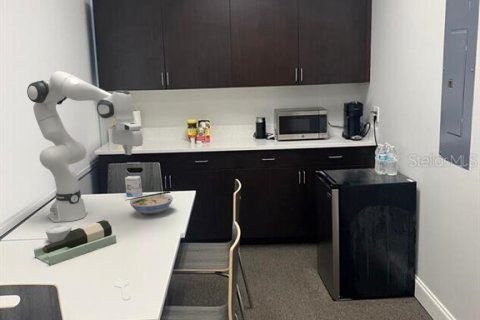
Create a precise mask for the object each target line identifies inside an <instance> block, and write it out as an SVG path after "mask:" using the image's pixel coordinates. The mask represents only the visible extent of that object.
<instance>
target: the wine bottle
mask: <svg viewBox="0 0 480 320" xmlns="http://www.w3.org/2000/svg"><path fill="white" fill-rule="evenodd" d="M111 235H113V228H112V225H111V224H110V222H109V220H106V219H105V220H104V219H103V220H100V221H96V222H93V223H91V224H87V225H84V226H81V227H78V228H75V229H71V231H70V232H69V233H68V234H67V236H66V237H65V238H64V239H63V240H60V241H57V242H54V243H52V242H50V243H48V244H45V245H43V246H44V247H43V246H42V247H43V252H44V253H47V254H48V253H50V252H53V251H56V250H59V249H62V248H65V247H68V248H74V247H77V246H80V245H83V244H86V243H89V242H92V241H95V240H98V239H101V238H104V237H107V236H111Z"/></svg>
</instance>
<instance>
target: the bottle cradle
mask: <svg viewBox="0 0 480 320" xmlns="http://www.w3.org/2000/svg"><path fill="white" fill-rule="evenodd" d="M113 244H117V235H116V234H112V235H111V236H107V237H104V238H101V239H98V240H95V241H92V242H89V243H86V244H83V245H80V246H77V247H74V248H68V247H65V248H62V249H59V250H56V251H53V252H50V253H48V254H47V253H44V252H43V247H44V246H45V245H43V246H40V247H37V248H34V249H33V252H34V258H36V259H37V260H40V261H41V262H44V263H45V264H47V265H49V266H53V265H56V264H59V263H62V262H64V261H68V260H70V259H74V258H76V257H80V256H83V255H86V254H87V253H91V252H93V251H96V250H100V249H102V248H106V247H108V246H111V245H113Z"/></svg>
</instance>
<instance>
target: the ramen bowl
mask: <svg viewBox="0 0 480 320" xmlns="http://www.w3.org/2000/svg"><path fill="white" fill-rule="evenodd" d="M170 194H171V191H169V190H167V191H162V192H161V191H160V192H157V193H150V194H142V195H141V196H138V197H131V198H129V199H127V198H126V201H129V204H130V206H131V207H132V208H133V209H134V210H135V211H136V212H138V213H141V214H145V215H147V216H148V215H151V216H153V215H157V214H160V213H161V212H163V211H166V209H168V207H170V205H171V203H172V202H173V200H174V196H172V195H170Z"/></svg>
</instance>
